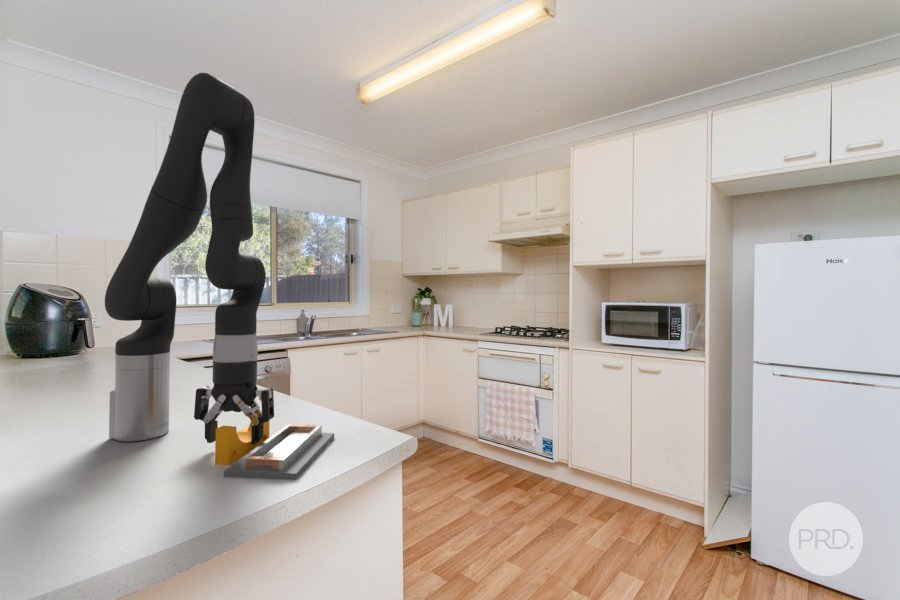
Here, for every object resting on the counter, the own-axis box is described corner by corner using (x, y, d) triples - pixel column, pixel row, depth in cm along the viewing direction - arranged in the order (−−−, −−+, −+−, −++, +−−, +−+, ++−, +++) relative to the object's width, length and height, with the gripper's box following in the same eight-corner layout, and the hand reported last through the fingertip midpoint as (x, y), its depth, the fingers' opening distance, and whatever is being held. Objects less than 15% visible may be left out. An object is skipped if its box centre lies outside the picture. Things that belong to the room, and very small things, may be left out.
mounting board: (223, 477, 68) (223, 470, 68) (278, 435, 88) (278, 431, 88) (295, 479, 67) (295, 473, 67) (334, 437, 87) (334, 433, 87)
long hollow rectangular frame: (240, 469, 68) (240, 458, 68) (287, 432, 87) (287, 424, 87) (283, 470, 68) (283, 460, 68) (321, 433, 86) (321, 425, 86)
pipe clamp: (249, 441, 85) (250, 409, 85) (269, 443, 84) (269, 411, 84) (206, 464, 73) (206, 428, 73) (228, 466, 72) (228, 429, 72)
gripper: (185, 359, 75) (184, 448, 75) (262, 361, 75) (261, 451, 75) (211, 354, 82) (209, 434, 83) (281, 355, 82) (279, 437, 82)
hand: (234, 442), depth 79 cm, fingers open, 8 cm apart
